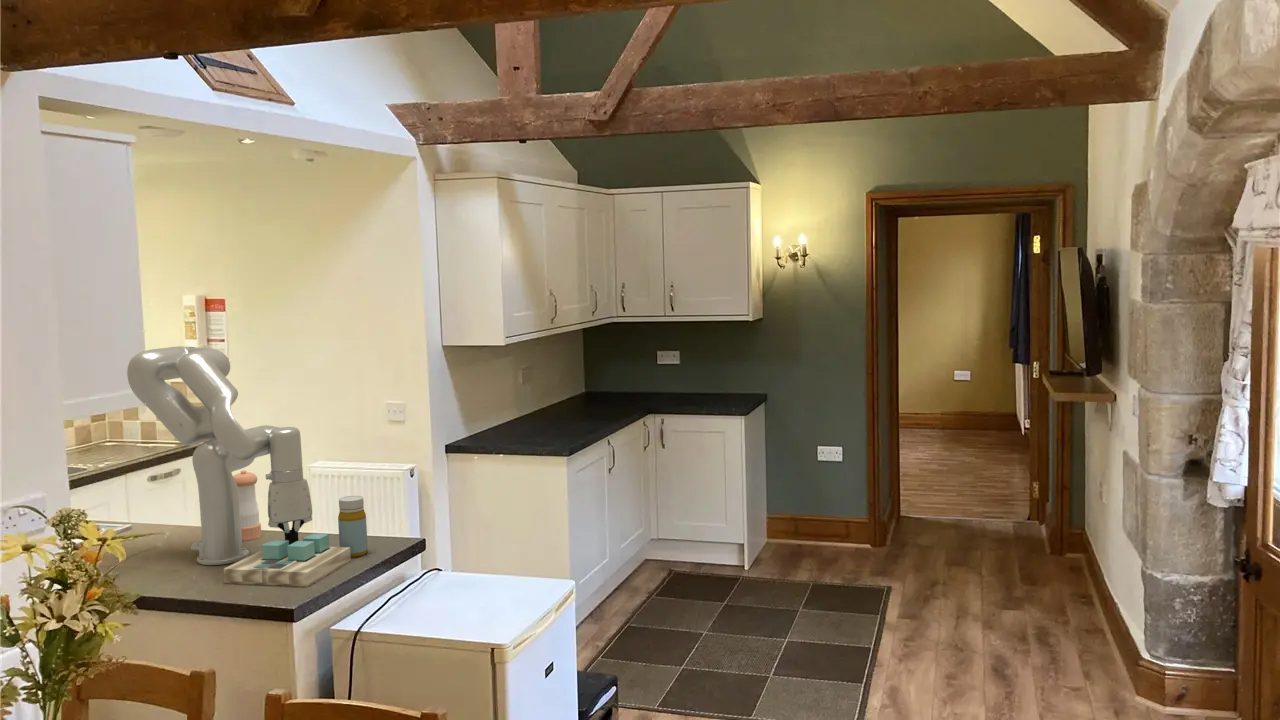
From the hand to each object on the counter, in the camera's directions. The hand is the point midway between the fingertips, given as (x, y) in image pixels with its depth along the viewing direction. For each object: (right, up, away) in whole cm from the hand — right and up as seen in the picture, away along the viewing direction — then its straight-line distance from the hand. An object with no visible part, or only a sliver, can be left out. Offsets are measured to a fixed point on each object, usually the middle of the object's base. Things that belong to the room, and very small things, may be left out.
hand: (292, 546), depth 255 cm
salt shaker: (-22, -3, +26) cm, 34 cm away
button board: (+2, -5, -7) cm, 9 cm away
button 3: (+5, -1, -8) cm, 10 cm away
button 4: (+7, -1, -1) cm, 7 cm away
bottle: (+14, -4, +7) cm, 16 cm away
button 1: (-2, -1, -7) cm, 7 cm away
